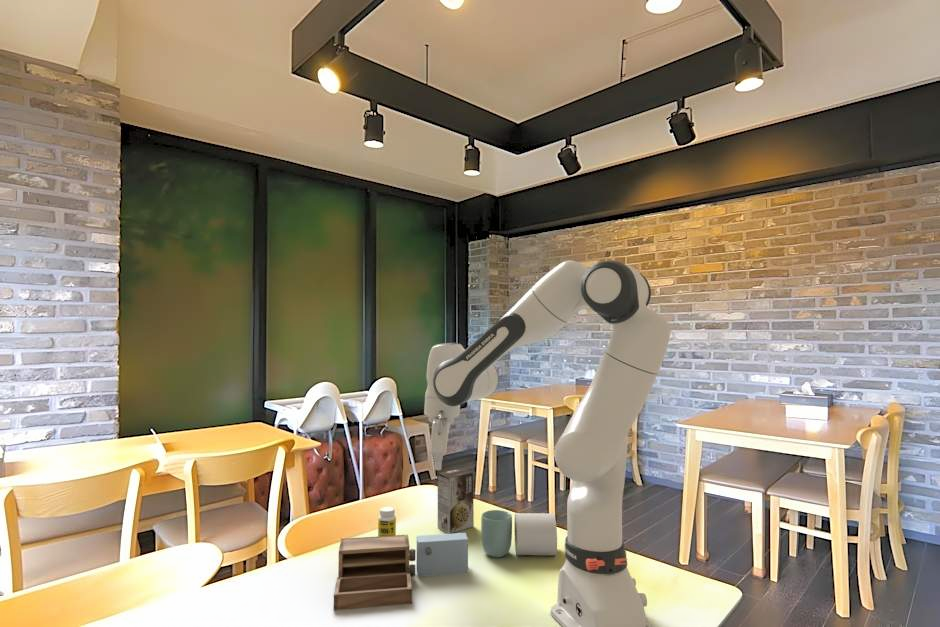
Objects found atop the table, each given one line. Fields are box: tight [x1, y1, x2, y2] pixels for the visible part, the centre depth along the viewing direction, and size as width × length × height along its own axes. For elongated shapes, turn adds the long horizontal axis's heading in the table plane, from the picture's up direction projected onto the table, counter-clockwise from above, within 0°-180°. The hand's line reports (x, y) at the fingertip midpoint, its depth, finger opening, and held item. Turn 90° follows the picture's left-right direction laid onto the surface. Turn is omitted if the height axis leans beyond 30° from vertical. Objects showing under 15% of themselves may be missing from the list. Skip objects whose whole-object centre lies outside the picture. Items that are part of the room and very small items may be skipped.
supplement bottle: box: [377, 506, 397, 537], centre depth 141 cm, size 5×5×8 cm
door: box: [416, 532, 469, 578], centre depth 122 cm, size 5×12×8 cm, turn 100°
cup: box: [480, 509, 513, 558], centre depth 132 cm, size 8×8×10 cm
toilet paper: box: [513, 512, 558, 556], centre depth 133 cm, size 10×10×10 cm
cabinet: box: [333, 534, 417, 610], centre depth 115 cm, size 18×17×8 cm
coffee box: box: [437, 467, 475, 534], centre depth 151 cm, size 9×6×16 cm
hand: (438, 463), depth 126 cm, fingers open, 8 cm apart
